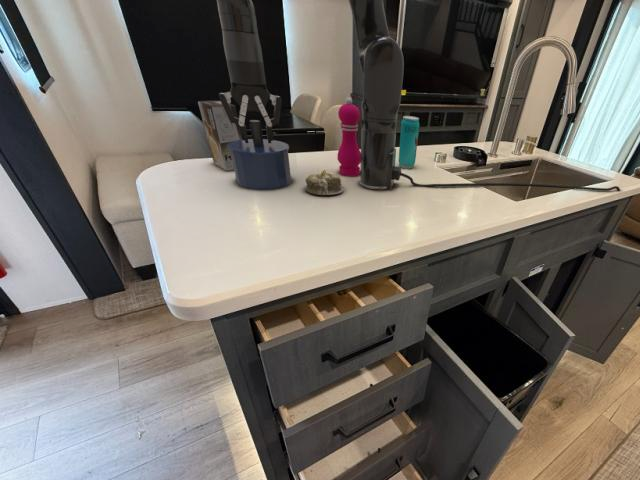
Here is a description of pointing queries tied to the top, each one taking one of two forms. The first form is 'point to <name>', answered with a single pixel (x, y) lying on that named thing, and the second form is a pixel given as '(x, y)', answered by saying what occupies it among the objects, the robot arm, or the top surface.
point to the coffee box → (219, 131)
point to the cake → (324, 184)
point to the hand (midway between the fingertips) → (258, 142)
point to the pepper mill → (349, 140)
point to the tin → (262, 170)
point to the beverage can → (408, 141)
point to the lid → (257, 143)
